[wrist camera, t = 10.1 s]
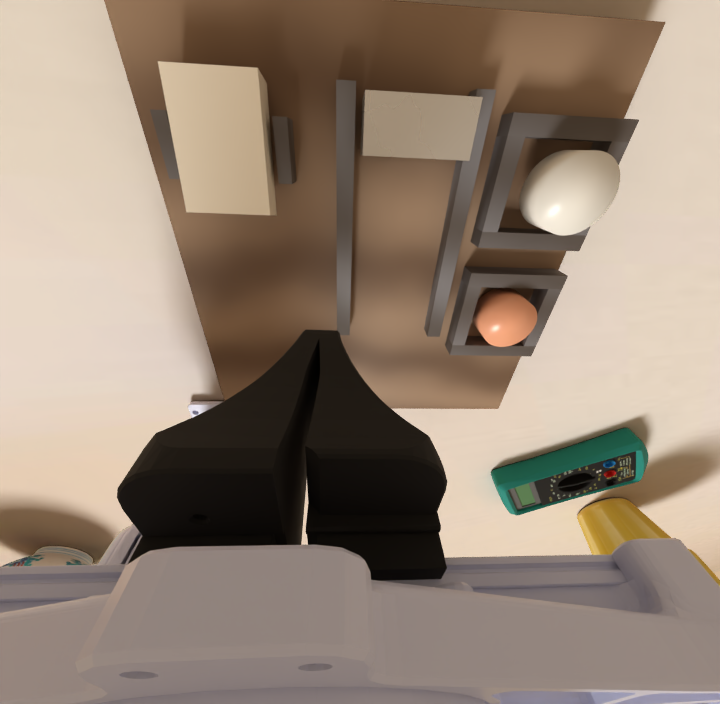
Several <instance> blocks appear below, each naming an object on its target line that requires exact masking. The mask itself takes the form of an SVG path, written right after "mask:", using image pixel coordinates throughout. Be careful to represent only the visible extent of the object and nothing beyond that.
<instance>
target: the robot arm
mask: <svg viewBox="0 0 720 704" xmlns="http://www.w3.org/2000/svg"><path fill="white" fill-rule="evenodd" d="M188 409H189V412H190V414H191V416H192V418H191V419H188V420H186V421H184V422H181V423H179V424H177V425H175V426H172V427H170V428H168V429H165V430H163V431H160V432H158V433H156V434H155V435H154V436H153V438H152V439H151V440H150V442H149V443H148V444H147V445H146V447H145V448H144V449H143V451H142V453H141V454H140V456H139V457H138V459H137V460H136V462H135V463H134V465H133V466H132V468H131V469H130V471H129V472H128V474H127V475H126V477H125V478H124V480H123V481H122V483H121V484H120V486H119V487H118V492H117V498H118V501H119V503H120V505H121V507H122V509H123V510H124V512H125V513H126V514H127V516H128V517H129V518H130V520H131V521H132V522H133V524H132V525H131V526H129V527H127V528H125V529H123V530H121V531H120V532H119V533H118V534H117V536H116V537H115V538H114V540H113V541H112V542H111V544H110V545H109V547H108V548H107V550H106V551H105V553H104V555H103V556H102V558H101V559H100V561H99V563H98V564H97V565H62V566H12V567H0V704H720V586H719V585H718V584H717V583H716V581H715V580H714V579H713V578H712V577H711V576H710V574H709V573H708V572H707V571H706V570H705V569H704V567H703V566H702V565H701V564H700V563H699V562H698V560H697V559H696V558H695V557H694V556H693V555H692V553H691V552H690V551H689V550H688V549H687V548H686V546H685V545H684V544H683V543H682V542H681V541H680V540H678V539H676V538H650V539H633V540H630V541H626V542H624V543H622V544H621V545H619V546H618V547H617V548H616V549H615V550H614V551H613V552H612V554H609V555H559V556H509V557H459V558H444V553H443V549H442V545H441V541H440V537H439V533H438V532H440V530H441V525H440V521H439V517H438V513H437V510H438V508H439V505H440V503H441V501H442V498H443V496H444V493H445V491H446V486H447V479H446V475H445V471H444V468H443V465H442V463H441V460H440V458H439V456H438V454H437V451H436V449H435V447H434V445H433V443H432V441H431V439H430V438H429V436H428V435H426V434H425V433H423V432H422V431H420V430H419V429H417V428H416V427H414V426H413V425H411V424H410V423H408V422H407V421H406V420H404V419H403V418H402V417H400V416H399V415H398V414H397V413H395V412H394V411H393V410H392V409H391V408H390V407H388V406H387V405H386V404H385V403H384V402H383V401H382V400H381V399H380V398H379V397H378V396H377V395H376V394H375V393H374V392H373V391H372V389H371V388H370V387H369V386H368V385H367V383H366V382H365V381H364V380H363V378H362V377H361V375H360V374H359V373H358V371H357V369H356V368H355V366H354V365H353V363H352V361H351V360H350V358H349V356H348V354H347V352H346V350H345V348H344V345H343V343H342V340H341V337H340V333H339V332H338V331H336V330H306V329H305V330H304V331H303V332H302V334H301V335H300V336H299V337H298V339H297V340H296V341H295V342H294V344H293V345H292V346H291V347H290V348H289V349H288V350H287V352H286V353H285V354H284V355H283V356H282V357H281V358H280V359H279V360H278V361H277V362H276V363H275V364H274V365H273V366H272V367H271V368H270V369H269V370H267V371H266V372H265V373H264V374H263V375H262V376H261V377H259V378H258V379H257V380H255V381H254V382H253V383H252V384H250V385H249V386H247V387H246V388H244V389H243V390H241V391H240V392H238V393H236V394H235V395H233V396H232V397H230V398H229V399H227V400H225V401H193V402H190V404H189V406H188ZM306 480H307V485H308V500H309V504H308V513H307V523H306V534H307V538H308V545H301V539H302V527H303V515H304V503H305V491H306Z"/></svg>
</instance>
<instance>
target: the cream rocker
mask: <svg viewBox="0 0 720 704" xmlns="http://www.w3.org/2000/svg"><path fill="white" fill-rule="evenodd" d="M158 66H159V71H160V76H161V82H162V87H163V92H164V97H165V103H166V108H167V113H168V118H169V123H170V129H171V134H172V139H173V144H174V150H175V155H176V160H177V165H178V171H179V176H180V181H181V186H182V192H183V197H184V202H185V207H186V212H193V213H220V214H246V215H277V212H276V199H275V186H274V173H273V159H272V146H271V133H270V120H269V106H268V93H267V83H266V81H265V79H264V78H263V76H262V74H261V73H260V71H259V69H258V68H254V67H238V66H223V65H208V64H192V63H177V62H161V61H158Z"/></svg>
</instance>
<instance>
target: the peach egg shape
mask: <svg viewBox="0 0 720 704" xmlns="http://www.w3.org/2000/svg"><path fill="white" fill-rule="evenodd" d="M472 320H473V323H474V325H475V326H476V328H477V329H478V330H479V332H480V333H481V335H482V336H483V337H484V339H485V340H486V341H487V342H488V343H489V344H491V345H493V346H497V347H506V346H511V345H514V344H516V343H518V342H520V341H522V340H523V339H525V338H526V337H527V336H528V335H529V334H530V333H531V332H532V330H533V329H534V327H535V325H536V322H537V311H536V309H535V307H534V306H533V305H532V304H531V303H530V302H529V301H527V300H526V299H525V298H524V297H523V296H521V295H520V294H519V293H518V292H517V291H515V290H514V289H511V288H497V289H494V290H491V291H489V292H487V293H486V294H484V295H483V296H482V297H481V298H480V299H479V300H478V301H477V304H476V308H475V311H474V315H473V318H472Z"/></svg>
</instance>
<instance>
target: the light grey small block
mask: <svg viewBox="0 0 720 704" xmlns="http://www.w3.org/2000/svg"><path fill="white" fill-rule="evenodd" d="M482 99H483V97H474V96H458V95H442V94H426V93H410V92H394V91H377V90H365V92H364V95H363V98H362V121H361V149H360V154H361V155H363V156H381V157H402V158H422V159H442V160H462V161H469V160H470V155H471V151H472V146H473V141H474V137H475V132H476V127H477V123H478V118H479V113H480V108H481V104H482Z"/></svg>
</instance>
